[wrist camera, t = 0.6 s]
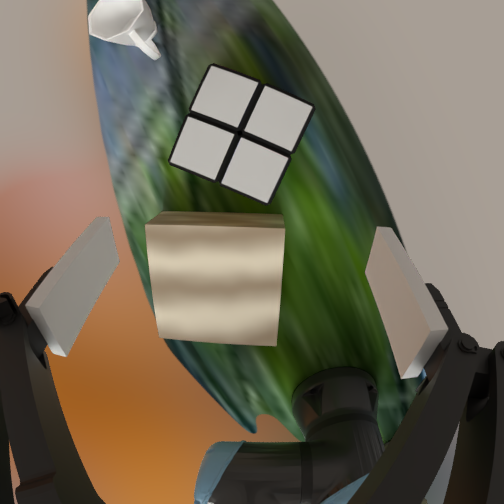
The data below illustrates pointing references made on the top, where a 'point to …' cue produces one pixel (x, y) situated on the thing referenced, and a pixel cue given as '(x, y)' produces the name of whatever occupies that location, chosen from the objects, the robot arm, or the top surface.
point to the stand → (216, 275)
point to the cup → (125, 24)
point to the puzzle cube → (240, 133)
